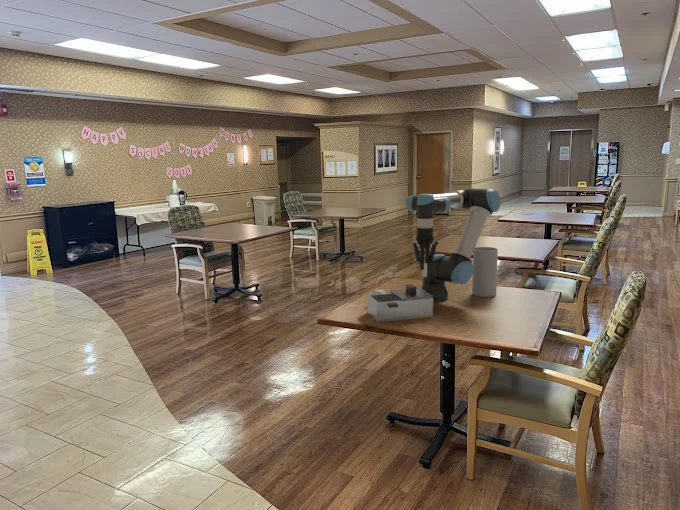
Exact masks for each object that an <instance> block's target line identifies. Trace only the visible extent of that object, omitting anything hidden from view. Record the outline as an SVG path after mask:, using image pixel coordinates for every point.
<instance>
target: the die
mask: <svg viewBox="0 0 680 510" xmlns="http://www.w3.org/2000/svg"><path fill="white" fill-rule="evenodd" d="M386 293H387V292H386V291H385V289H373V291H372V293H371V295H375V294H386Z"/></svg>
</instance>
